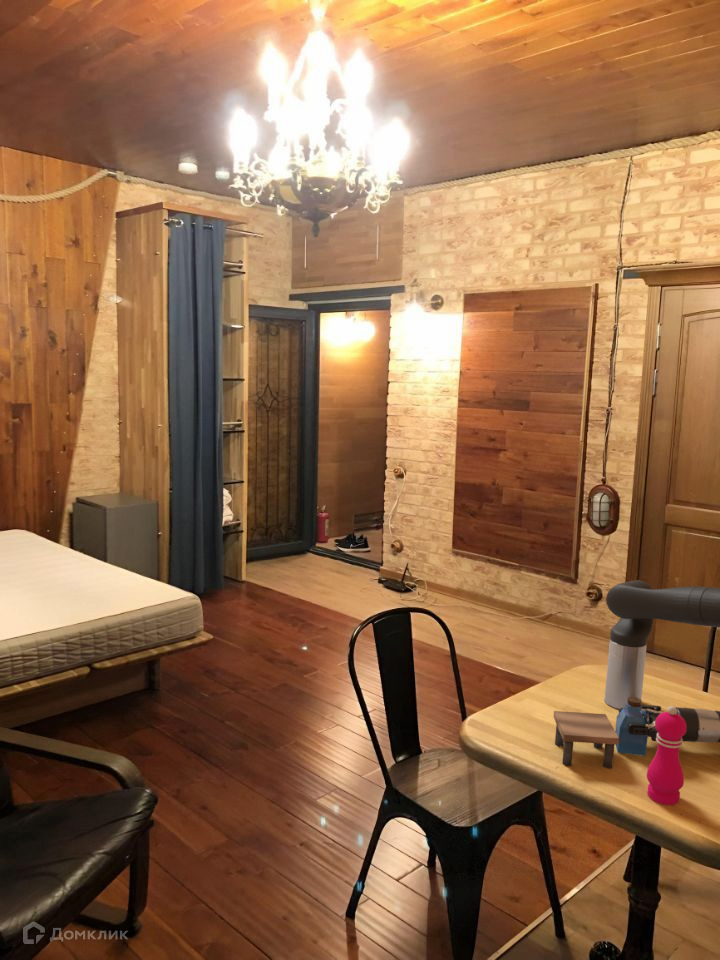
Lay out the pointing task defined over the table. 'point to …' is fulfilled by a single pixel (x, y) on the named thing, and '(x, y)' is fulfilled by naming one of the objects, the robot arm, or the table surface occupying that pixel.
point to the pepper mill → (667, 759)
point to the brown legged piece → (585, 734)
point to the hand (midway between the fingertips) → (623, 720)
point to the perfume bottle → (624, 718)
